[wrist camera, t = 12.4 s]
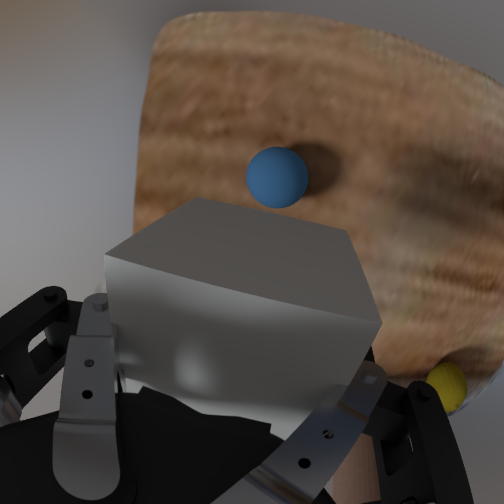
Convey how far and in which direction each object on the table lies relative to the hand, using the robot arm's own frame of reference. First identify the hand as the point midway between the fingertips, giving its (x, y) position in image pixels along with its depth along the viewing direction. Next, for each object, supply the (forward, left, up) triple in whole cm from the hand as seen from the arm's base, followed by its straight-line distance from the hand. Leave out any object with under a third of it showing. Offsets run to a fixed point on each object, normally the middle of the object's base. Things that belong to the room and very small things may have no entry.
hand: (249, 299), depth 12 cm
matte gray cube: (0, 0, -2) cm, 2 cm away
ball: (+1, -3, -13) cm, 13 cm away
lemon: (-26, +14, -16) cm, 33 cm away
